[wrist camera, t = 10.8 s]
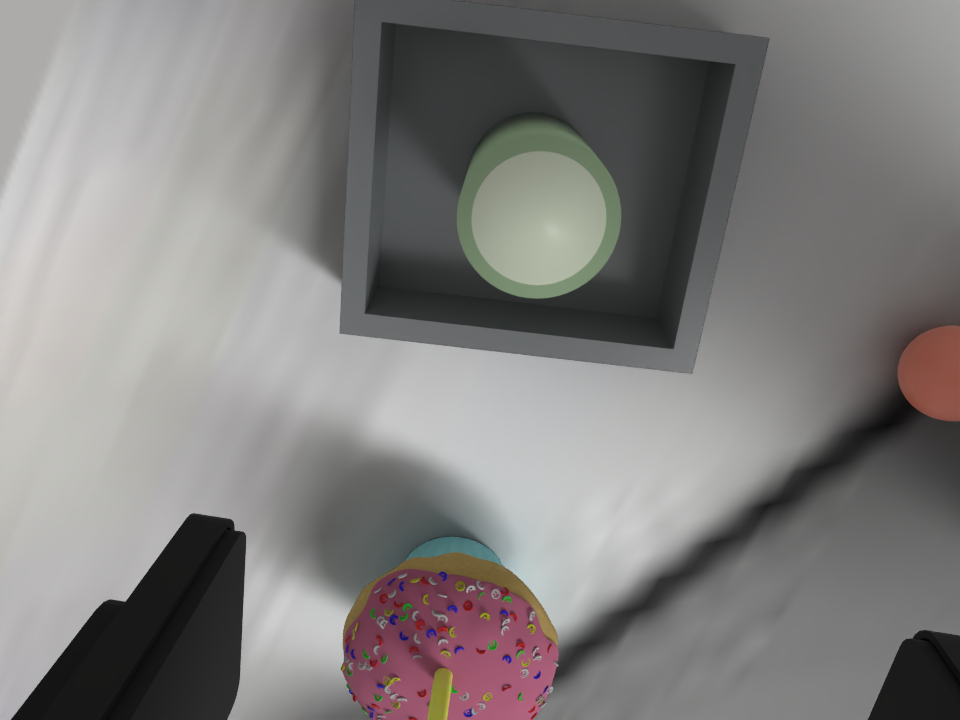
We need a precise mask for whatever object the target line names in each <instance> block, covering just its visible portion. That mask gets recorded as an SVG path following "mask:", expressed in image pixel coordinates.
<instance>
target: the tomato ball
mask: <svg viewBox="0 0 960 720" xmlns="http://www.w3.org/2000/svg"><path fill="white" fill-rule="evenodd" d="M897 374H898V382H899V386H900V389H901V391H902V393H903V394H904V396H905V398H906V399H907V400H908V402H909V403H910V404H911V405H912V406H913V407H914V408H916V409H917V410H919V411H920V412H921V413H923V414H925V415H927V416H930V417H932V418H935V419H939V420H944V421H960V326H954V325H950V326H941V327H937V328H933V329H930V330H928V331H926V332H924V333H922V334H920V335H919V336H917V337H916V338H915V339H914V340H912V341H911V342H910V343H909V345H908V346H907V347H906V348H905V350H904V351H903V353H902V355H901V357H900V360H899V364H898V371H897Z"/></svg>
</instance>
